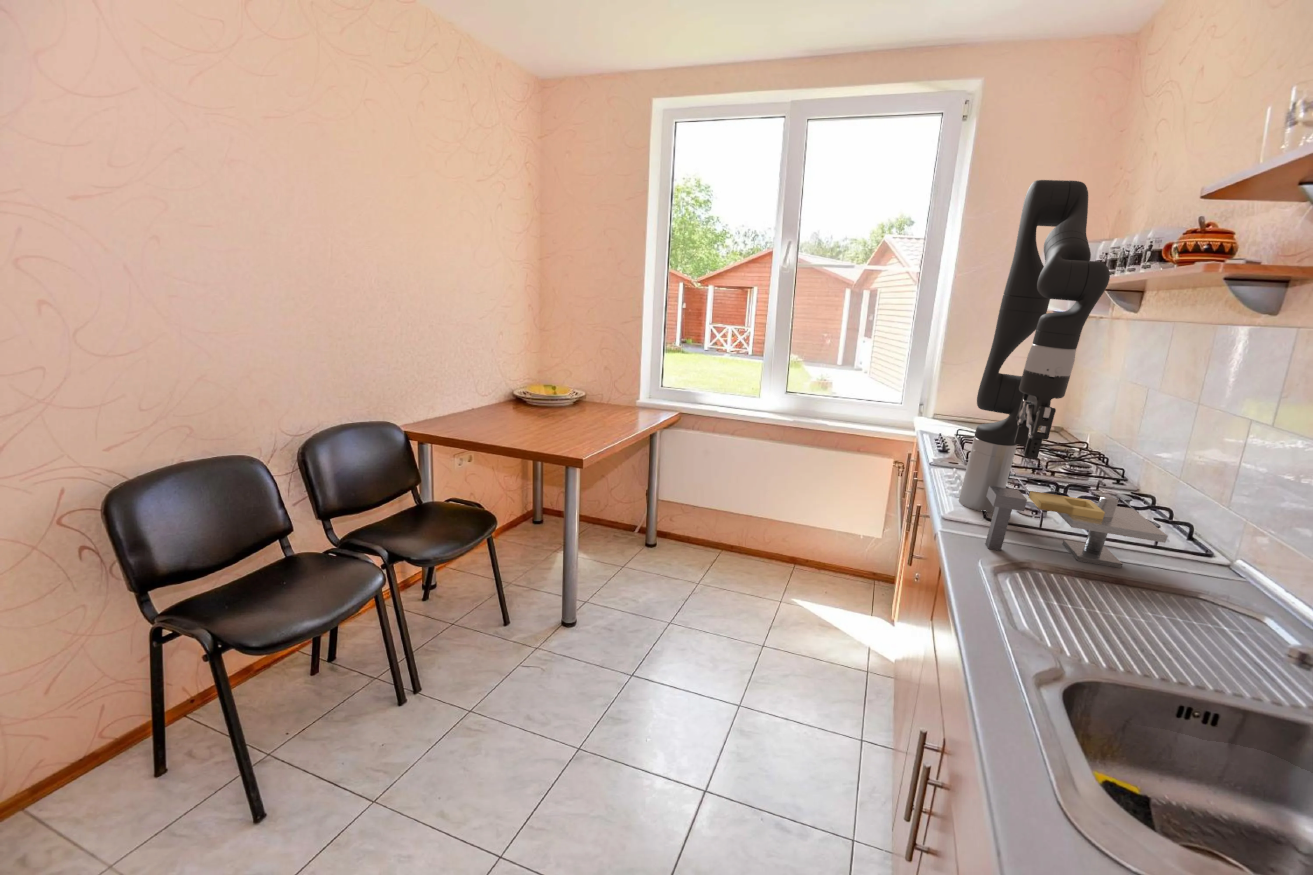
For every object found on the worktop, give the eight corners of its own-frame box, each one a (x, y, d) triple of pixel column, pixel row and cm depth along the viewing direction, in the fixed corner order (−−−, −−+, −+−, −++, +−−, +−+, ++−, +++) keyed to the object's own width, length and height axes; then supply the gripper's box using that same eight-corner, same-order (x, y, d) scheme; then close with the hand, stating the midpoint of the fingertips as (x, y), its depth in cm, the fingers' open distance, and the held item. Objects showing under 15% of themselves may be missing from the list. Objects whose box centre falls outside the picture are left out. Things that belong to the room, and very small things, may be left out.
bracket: (1088, 506, 124) (1090, 500, 124) (1102, 519, 117) (1104, 512, 117) (1028, 497, 127) (1030, 490, 126) (1039, 509, 120) (1041, 502, 120)
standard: (1119, 548, 128) (1137, 493, 124) (1151, 579, 115) (1174, 519, 111) (1037, 534, 131) (1053, 480, 128) (1060, 563, 118) (1078, 504, 115)
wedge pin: (975, 539, 126) (989, 485, 123) (1003, 544, 125) (1018, 490, 122) (981, 550, 121) (996, 494, 118) (1011, 555, 120) (1027, 499, 116)
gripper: (1016, 361, 118) (997, 437, 123) (1034, 374, 105) (1011, 458, 110) (1059, 366, 116) (1037, 443, 121) (1082, 379, 103) (1056, 465, 108)
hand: (1024, 450), depth 116 cm, fingers open, 8 cm apart
